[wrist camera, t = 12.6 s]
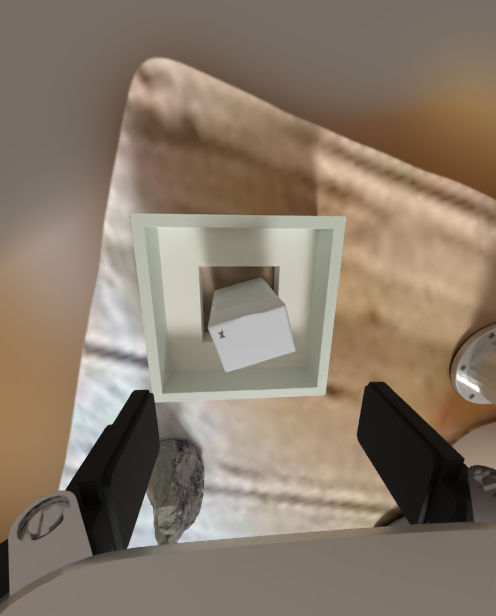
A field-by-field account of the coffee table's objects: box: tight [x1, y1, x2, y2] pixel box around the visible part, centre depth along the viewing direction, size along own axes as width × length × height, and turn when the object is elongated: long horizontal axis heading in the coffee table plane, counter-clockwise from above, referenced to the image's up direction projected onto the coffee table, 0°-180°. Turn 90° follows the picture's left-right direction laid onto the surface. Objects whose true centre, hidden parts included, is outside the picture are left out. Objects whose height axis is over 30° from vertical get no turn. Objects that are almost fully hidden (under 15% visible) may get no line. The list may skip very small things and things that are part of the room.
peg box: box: [130, 213, 346, 403], centre depth 26 cm, size 18×18×7 cm
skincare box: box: [208, 277, 296, 372], centre depth 24 cm, size 6×4×12 cm
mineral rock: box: [146, 440, 204, 545], centre depth 32 cm, size 13×11×10 cm
